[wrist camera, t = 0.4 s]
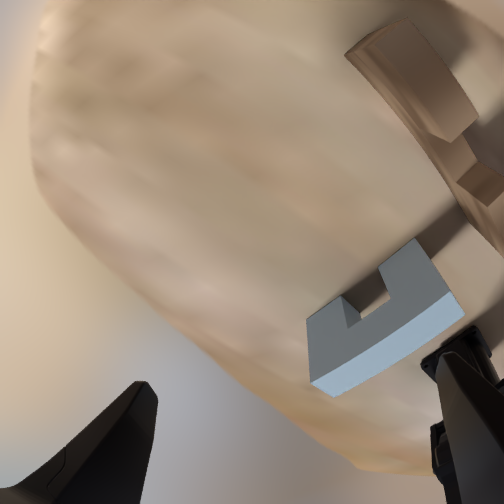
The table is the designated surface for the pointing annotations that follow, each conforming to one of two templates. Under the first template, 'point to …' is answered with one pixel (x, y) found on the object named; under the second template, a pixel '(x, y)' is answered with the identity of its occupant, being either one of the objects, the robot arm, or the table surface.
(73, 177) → the table surface
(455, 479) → the robot arm
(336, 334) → the notched blue slab
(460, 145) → the notched wooden post
